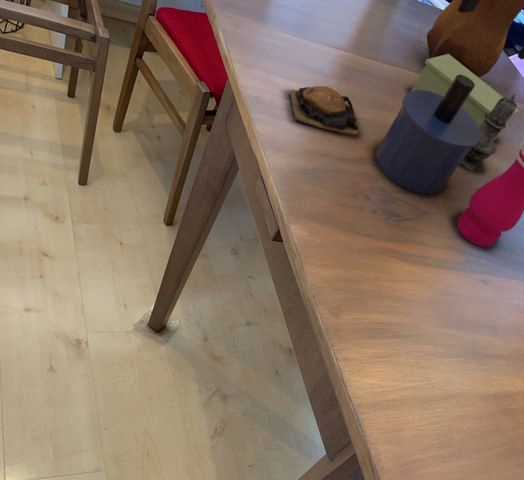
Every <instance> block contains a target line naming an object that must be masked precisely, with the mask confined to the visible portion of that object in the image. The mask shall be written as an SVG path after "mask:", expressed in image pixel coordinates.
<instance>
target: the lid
mask: <svg viewBox="0 0 524 480" xmlns="http://www.w3.org/2000/svg"><path fill="white" fill-rule="evenodd" d="M474 87H475V84H474V82H473V81H472V80H471V79H470V78H468V77H466V76H464V75H457V76H456V78H455V79H454V81H453V82H452V84H451V86H450V87H449V89H448V90H447V92H446V94H445V95H444V97H443V96H441V95H439V94H436V93H433V92H429V91H424V90H414V91H412V90H410V91H408V92H407V93H406V94H405V95H404V97H403V98H402V101H401V107H403V110H404V113H405V114H406V116H407V118H408V119H409V120H410V121H411V122H412V124H413V125H414V126H416V127H417V128H418V129H419V130H420V131H421V132H423V133H424V134H426V135H427V136H429V137H430V138H432V139H434V140H436V141H437V142H440V143H442V144H444V145H447V146H450V147H454V148H461V149H467V148H471V147H474V146H475V145H476V144H477V143H478V142H479V140H480V137H481V132H480V129H479V127H478V125H477V123H476V122H475V120H474V119H473V118H472V117H471V116H470V115H469V114H468V113H467V112H466V111H465V110H464V109H463V108H461V107H462V105H463V104H464V102H465V101H466V99H467V97H468V96H469V94H470V93H471V91H472V90H473V88H474Z"/></svg>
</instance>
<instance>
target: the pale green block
mask: <svg viewBox="0 0 524 480" xmlns="http://www.w3.org/2000/svg"><path fill="white" fill-rule="evenodd" d="M424 63H425V65H424V67H423V70H421V73H420V74H419V76H418V78H417V80H416V81H415V84H414V85H413V87H412V88H411V91H414V90H424V91H429V92H433V93H436V94H439V95H441V96H443V97H444V95H445V94H446V92H447V90H448V89H449V87H450V86H451V84H452V82H453V81H454V79H455V78H456V76H457V75H464V76H466V77H468V78H470V79H471V80H472V81H473V82H474V84H475V87H474V88H473V90H472V91H471V93H470V94H469V96H468V97H467V99H466V101H465V102H464V104H463V105H462V107H461V108H463V109H464V110H465V111H466V112H467V113H468V114H469V115H470V116H471V117H472V118H473V119H474V120H475V122H476V123H477V125H478V127H480V126H481V124H482V123H483V121H484V120H485V115H486V114H490V112H491V111H492V109H493V108H494V107H495V105H496V104H497V102H498V101H499V100H500V99H501V98H503V97H504V96H502V95H501V94H500V93H499V92H497V91H496V90H495V89H494V88H492V87H491V86H490V85H489V84H487V83H486V82H485V81H484V80H482V79H481V78H480V77H477V76H476V75H474V74H473V73H472V72H471V71H469V70H468V69H467V68H466V67H464V66H463V65H462V64H461V63H459V62H458V61H457V60H456V59H454V58H453V57H452V56H451V55H449V54H446V55H442V56H438V57H434V58H428V59H426V60H425V62H424ZM520 111H521V110H520V109H518V108H517V107H516V109H515V111H514V113H513V114H512V115H511V117H510V118H509V119H508V121H507V122H506V123H505V124H506V126H507V125H508V124H509V122H510V121H511V120H512V118H513V117H514V116H515V115H517V114H519V112H520ZM503 130H504V129H501V131H500V132H499V133H498V135H497V136H496V137H495V139H494V141H495V140H497V138H498V137H499V135H500V134H501V133H502V132H503Z"/></svg>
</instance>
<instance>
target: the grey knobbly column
mask: <svg viewBox="0 0 524 480" xmlns="http://www.w3.org/2000/svg"><path fill="white" fill-rule="evenodd" d="M502 97H503V98H501V99H500V100H499V101H498V102H497V104H496V105H495V107H494V108H493V109H492V111H491V112H490V114H486V115H485V120H484V121H483V123H482V124H481V126H480V127H479V129H480V132H481V137H480V140H479V142H478V143H477V144H476V145H475V146H474V147H472V148H471V149H470V151H469V152H468V153H467V155H466V156H465V157H464V159H463V160H462V162H461V163H460V164H459V165H461V166H462V167H464V168H465V169H468V170H470V171H480V170H482V167H483V164H482V161H484V160H487V159H488V158H489V157H491V156H492V155H494V154H496V153H497V146H496V143H495V140H496V139H495V137H496V136H497V135H498V133H499V132H500V131H501V129H503V130H505V129H506V127H507V125H506V124H505V123H506V122H507V121H508V119H509V118H510V117H511V115H512V114H513V113H514V111H515V109H516V108H517V103H516V102H515V100H514V99H516V94H515V93H514V94H511V95H510V97H506V96H502ZM501 132H502V131H501ZM498 136H499V135H498ZM494 139H495V140H494Z"/></svg>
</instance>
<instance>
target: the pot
mask: <svg viewBox="0 0 524 480" xmlns="http://www.w3.org/2000/svg"><path fill="white" fill-rule="evenodd" d="M387 130H388V131H387V132H386V134H385V136H384V138H383V139H382V141H381V143H380V145H379V147H378V148H377V150H376V154H375V156H376V157H375V158H376V161H377V164H378V165H379V168H380V169H381V171H382V172H383V173H384V174H385V176H387V177H388V178H389V179H390V180H391V181H392V182H394V183H395V184H396V185H398V186H400V187H402V188H403V189H406V190H408V191H409V192H413V193H415V194H421V195H433V194H435V193H438V192H440V191H441V190H442V189H443V188H444V187H445V185H446V184H447V182H448V181H449V180H450V178H451V177H452V176H453V174H454V173H455V171H456V170H457V169H458V167H459V166H460V165H461V164H460V163H461V162H462V160H463V159H464V157H465V156H466V155H467V153H468V152H469V151H470V149H471V148H472V147H471V148H467V149H461V148H454V147H450V146H447V145H444V144H442V143H440V142H437V141H436V140H434V139H432V138H430V137H429V136H427V135H426V134H424V133H423V132H421V131H420V130H419V129H418V128H417V127H416V126H414V125H413V124H412V122H411V121H410V120H409V119H408V118H407V116H406V114H405V113H404V110H403V107H402V106H401V107H400V109H399V111H398V113H397V115H396V116H395V118H394V120H393V122H392V123H391V125H390V127H389V128H388V129H387Z"/></svg>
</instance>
